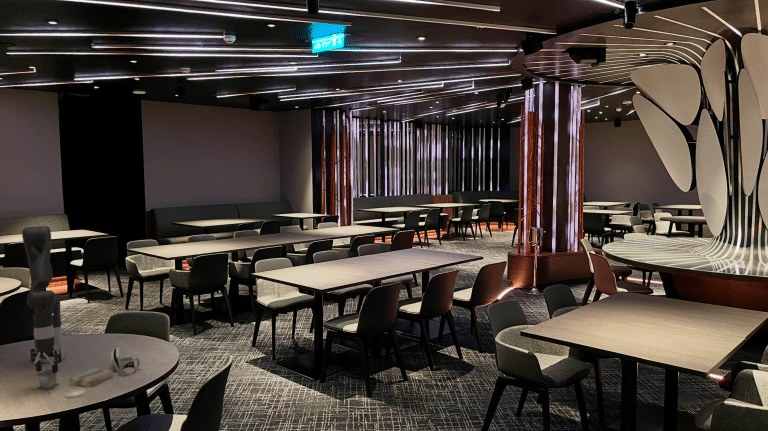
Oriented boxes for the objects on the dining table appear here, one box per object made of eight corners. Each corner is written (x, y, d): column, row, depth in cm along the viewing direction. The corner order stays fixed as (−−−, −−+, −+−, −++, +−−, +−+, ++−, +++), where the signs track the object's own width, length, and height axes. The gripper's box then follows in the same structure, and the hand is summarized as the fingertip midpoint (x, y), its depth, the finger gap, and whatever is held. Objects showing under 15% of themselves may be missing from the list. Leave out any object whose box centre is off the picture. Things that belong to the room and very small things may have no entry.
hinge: (128, 370, 267) (119, 352, 265) (118, 375, 266) (109, 357, 264) (131, 359, 283) (122, 341, 281) (122, 363, 282) (113, 346, 279)
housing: (38, 389, 247) (36, 372, 247) (48, 384, 253) (47, 368, 252) (48, 390, 246) (47, 373, 245) (58, 385, 251) (57, 369, 251)
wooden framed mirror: (70, 384, 251) (70, 377, 251) (90, 374, 263) (90, 368, 262) (93, 387, 248) (92, 380, 248) (112, 376, 260) (112, 370, 259)
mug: (124, 376, 260) (123, 362, 259) (116, 374, 263) (115, 360, 262) (144, 369, 268) (143, 356, 267) (135, 367, 272) (134, 353, 271)
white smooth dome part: (60, 397, 238) (59, 395, 238) (74, 390, 246) (74, 387, 246) (75, 399, 236) (75, 396, 236) (90, 391, 244) (90, 389, 244)
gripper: (23, 337, 245) (26, 374, 247) (50, 339, 242) (53, 376, 243) (38, 332, 252) (41, 368, 254) (64, 334, 249) (67, 370, 250)
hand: (47, 372), depth 248 cm, fingers open, 8 cm apart
